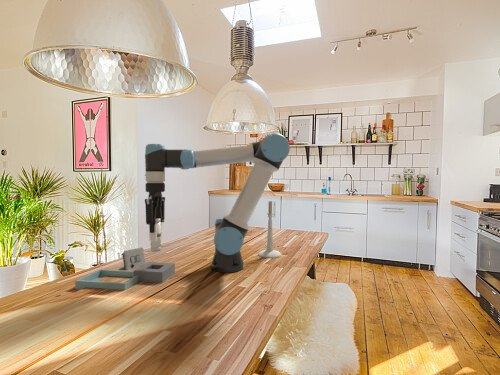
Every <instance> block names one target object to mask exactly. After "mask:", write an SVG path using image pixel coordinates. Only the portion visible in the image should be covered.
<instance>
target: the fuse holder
mask: <svg viewBox="0 0 500 375" xmlns="http://www.w3.org/2000/svg"><path fill="white" fill-rule="evenodd" d="M133 271H134V277H135V276H138V282H145V283H146V282H147V283H160V284H161V283H165V282H166V280H168V279H169V278H170V277H172V276H173V275H174V274H176V263H175V262H174V263H173V262H172V263H171V262H157V261H156V262H155V261H154V262H153V261H148V262H146V264H144V265H143V266H141V267H137V268H135V269H134V270H133Z"/></svg>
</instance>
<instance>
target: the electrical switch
mask: <svg viewBox="0 0 500 375" xmlns="http://www.w3.org/2000/svg"><path fill="white" fill-rule="evenodd" d="M144 250H145V249H144V247H137V248H132V249H127V250H124V251H123V252H122V255H121V256H122V261H123V268H124V269H125V271H131V270H132V269H137V268H139V267H141V266H143V265H144V264H146V263H147V262H146V257H145V251H144Z"/></svg>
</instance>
